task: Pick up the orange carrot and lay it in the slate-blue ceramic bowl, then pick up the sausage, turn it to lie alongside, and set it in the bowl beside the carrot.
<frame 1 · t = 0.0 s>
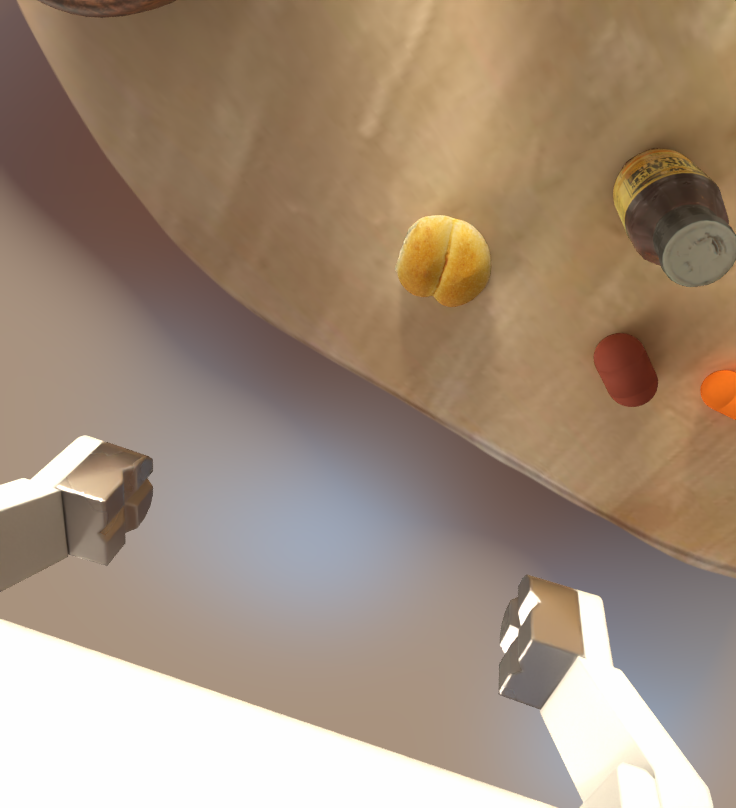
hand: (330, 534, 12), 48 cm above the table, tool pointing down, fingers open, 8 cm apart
sauce bottle: (646, 184, 51), on the table
bread roll: (443, 258, 58), on the table
sausage: (622, 359, 59), on the table
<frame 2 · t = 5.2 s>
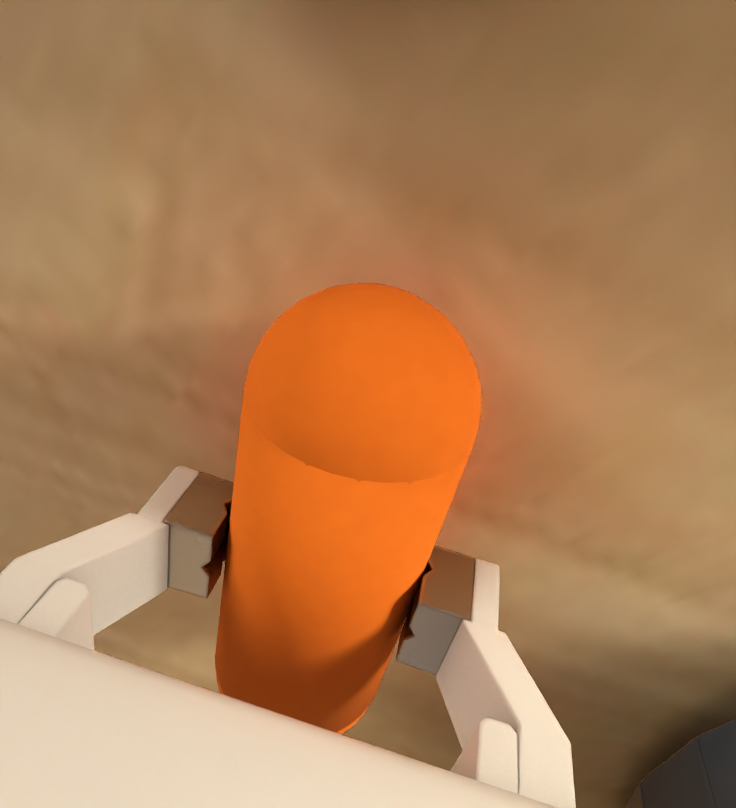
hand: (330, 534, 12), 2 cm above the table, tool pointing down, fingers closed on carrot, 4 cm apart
carrot: (349, 487, 14), on the table, touching gripper
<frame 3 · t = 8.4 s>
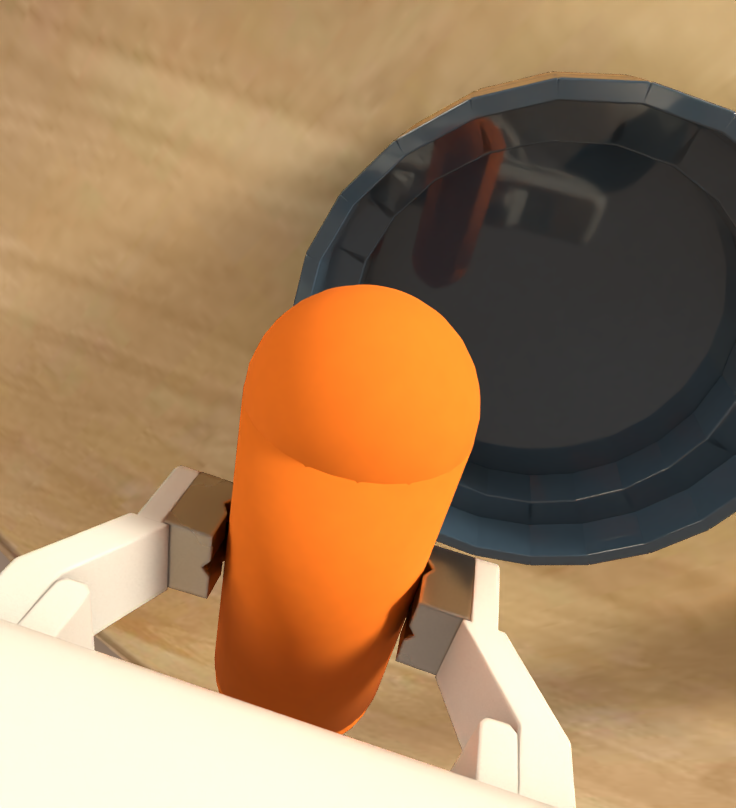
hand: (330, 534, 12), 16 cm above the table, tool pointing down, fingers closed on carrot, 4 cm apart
carrot: (349, 488, 14), point 15 cm above the table, touching gripper
bowl: (536, 322, 26), on the table
when the fingers open (2 cm above the table, at t = 12.0 s): carrot stays where it is, resting on bowl.
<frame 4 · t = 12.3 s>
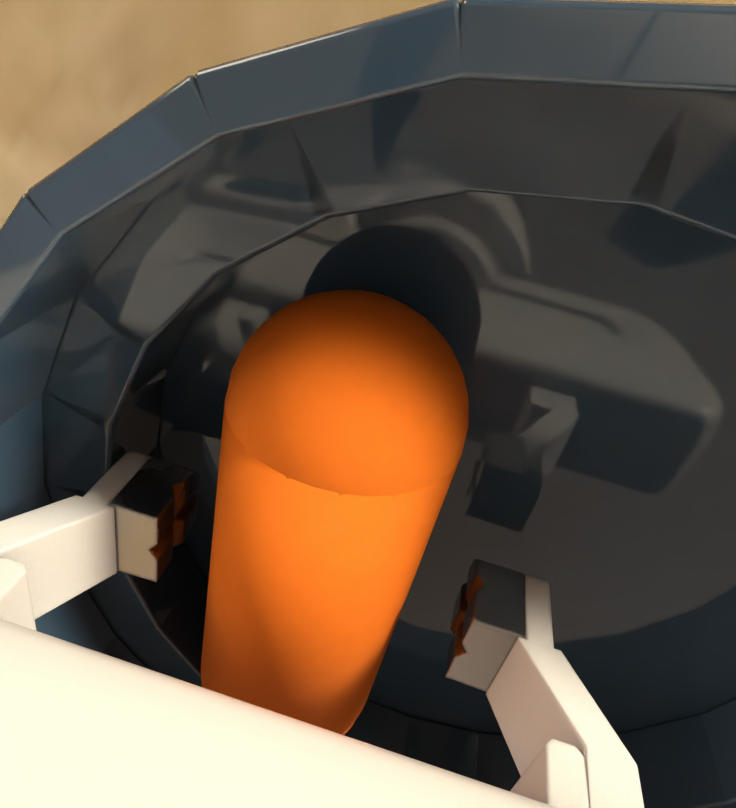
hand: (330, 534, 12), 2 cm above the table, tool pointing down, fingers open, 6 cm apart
carrot: (338, 495, 13), point 1 cm above the table, touching bowl
bowl: (481, 507, 14), on the table
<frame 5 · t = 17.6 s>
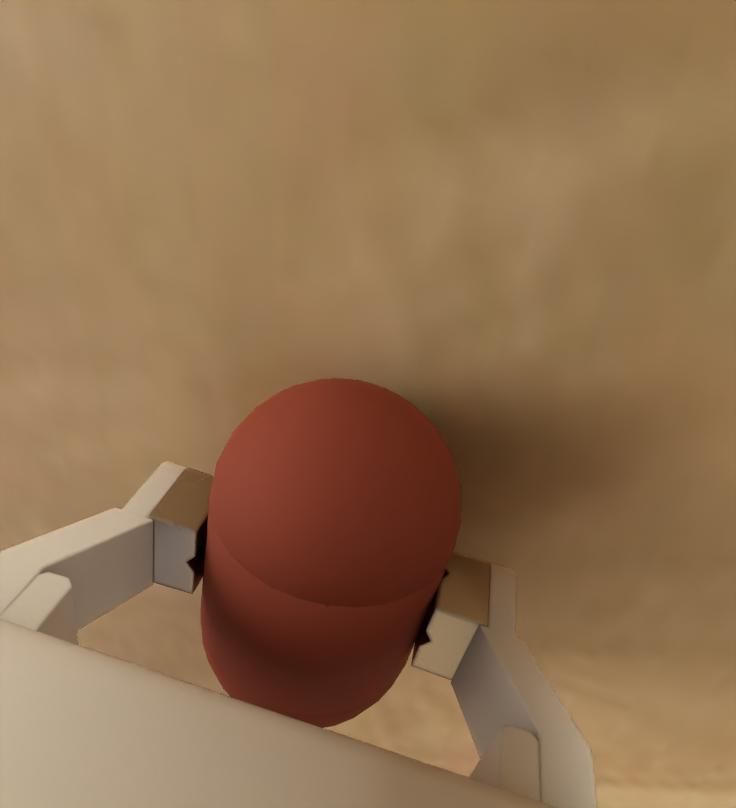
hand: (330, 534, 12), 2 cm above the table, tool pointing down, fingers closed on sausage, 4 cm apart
sausage: (349, 487, 14), on the table, touching gripper
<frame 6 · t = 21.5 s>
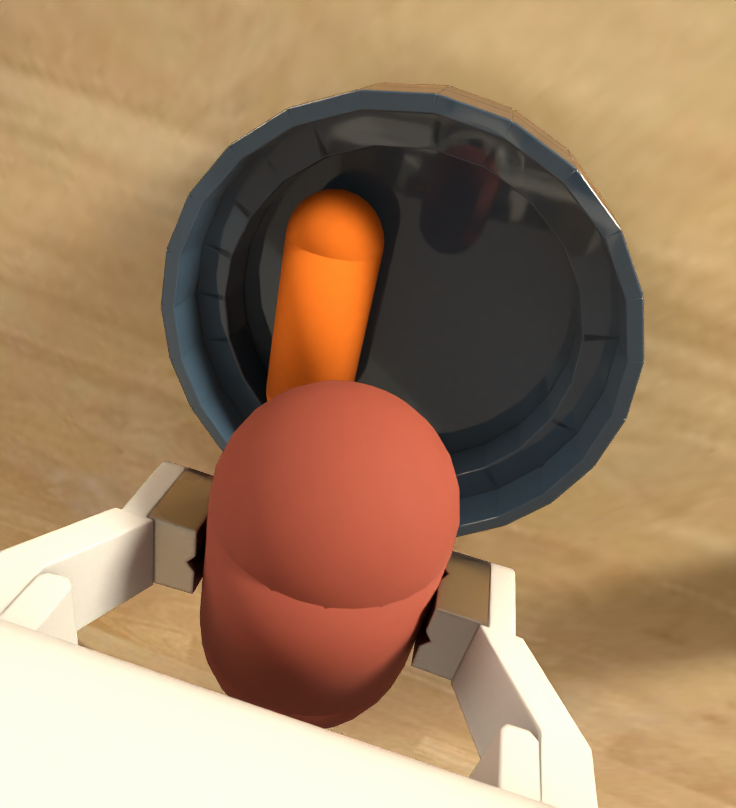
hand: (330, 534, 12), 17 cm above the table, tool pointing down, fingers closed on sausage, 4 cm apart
carrot: (332, 305, 28), point 1 cm above the table, touching bowl
bowl: (404, 313, 28), on the table
sausage: (349, 488, 14), point 15 cm above the table, touching gripper
when the fingers open (2 cm above the table, at t = 25.7 s): sausage stays where it is, resting on bowl.
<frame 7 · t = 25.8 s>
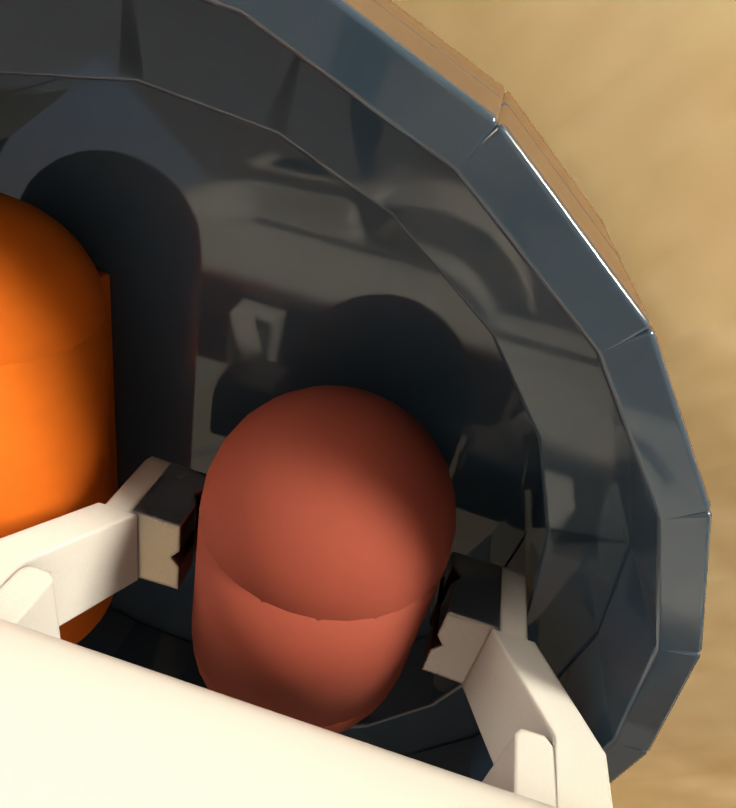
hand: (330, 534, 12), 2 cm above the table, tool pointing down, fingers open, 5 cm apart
carrot: (70, 414, 14), point 1 cm above the table, touching bowl
bowl: (213, 428, 14), on the table
sausage: (344, 493, 14), point 1 cm above the table, touching bowl
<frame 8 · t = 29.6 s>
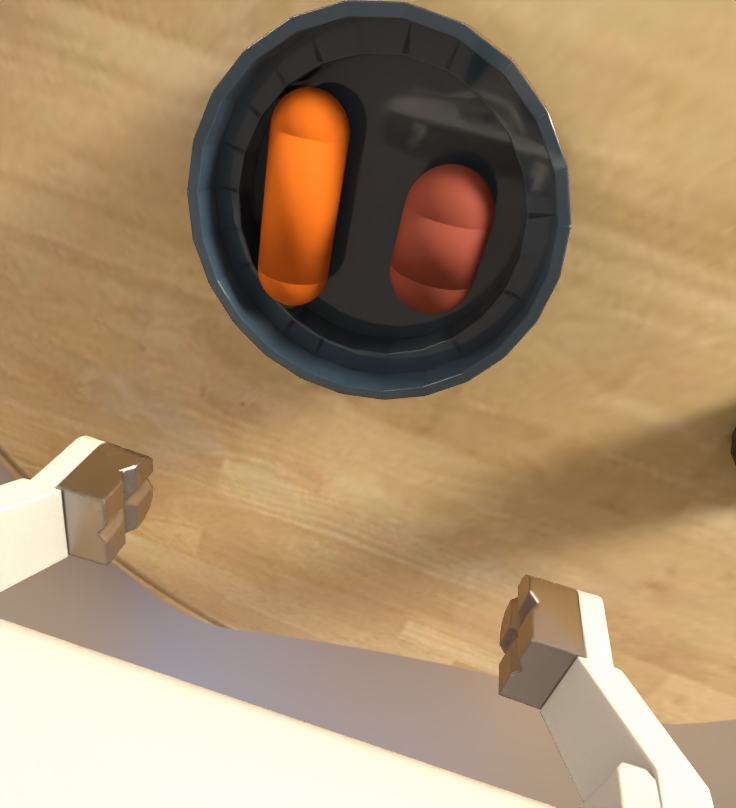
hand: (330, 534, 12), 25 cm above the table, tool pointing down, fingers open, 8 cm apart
carrot: (310, 197, 33), point 1 cm above the table, touching bowl
bowl: (386, 209, 34), on the table
sausage: (444, 231, 33), point 1 cm above the table, touching bowl
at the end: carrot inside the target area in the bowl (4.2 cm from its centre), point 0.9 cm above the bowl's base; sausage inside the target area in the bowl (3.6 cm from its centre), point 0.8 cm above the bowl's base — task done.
